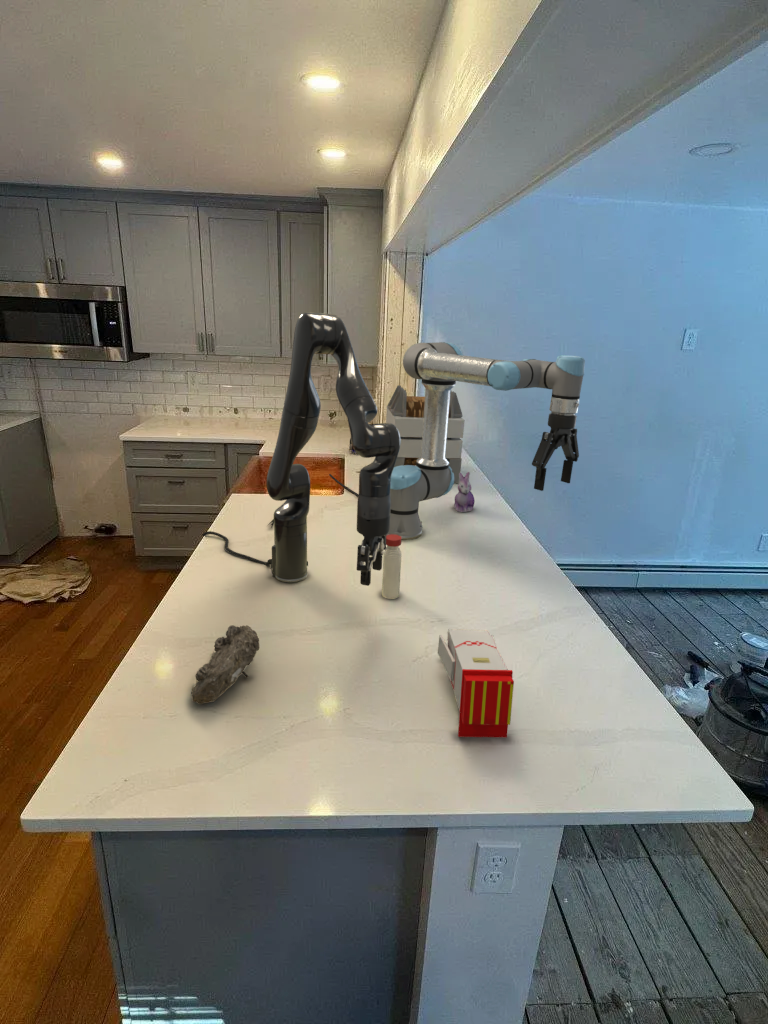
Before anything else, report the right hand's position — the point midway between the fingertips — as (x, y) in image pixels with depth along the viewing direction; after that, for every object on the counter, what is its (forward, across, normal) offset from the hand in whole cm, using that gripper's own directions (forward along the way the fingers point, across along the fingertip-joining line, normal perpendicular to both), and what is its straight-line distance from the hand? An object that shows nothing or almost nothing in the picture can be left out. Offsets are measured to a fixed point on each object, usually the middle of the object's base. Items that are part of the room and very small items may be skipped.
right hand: (552, 485), depth 166 cm
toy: (+28, -62, -26) cm, 72 cm away
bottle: (+28, -47, +16) cm, 57 cm away
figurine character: (+28, +46, +151) cm, 160 cm away
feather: (+28, -40, +87) cm, 100 cm away
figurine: (+28, +25, +53) cm, 65 cm away
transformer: (+28, +46, +101) cm, 115 cm away
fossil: (+28, -98, +9) cm, 103 cm away
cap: (+11, -47, +16) cm, 51 cm away
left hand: (+13, -64, +4) cm, 66 cm away
